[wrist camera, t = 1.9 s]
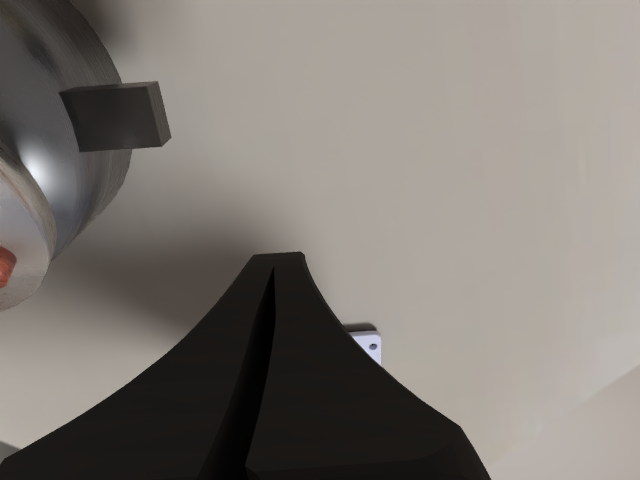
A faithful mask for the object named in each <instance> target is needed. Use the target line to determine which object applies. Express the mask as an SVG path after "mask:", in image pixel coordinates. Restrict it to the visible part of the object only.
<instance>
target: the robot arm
mask: <svg viewBox="0 0 640 480" xmlns="http://www.w3.org/2000/svg"><path fill="white" fill-rule="evenodd" d="M371 344H375V345H371ZM0 480H491V478H490V476H489V474H488V472H487V471H486V469H485V467H484V465H483V463H482V461H481V460H480V458H479V456H478V454H477V452H476V451H475V449H474V447H473V446H472V444H471V443H470V441H469V439H468V438H467V436H466V434H465V433H464V431H463V430H462V428H461V427H460V426H459V425H457V424H456V423H454V422H453V421H452V420H450V419H449V418H447V417H446V416H444V415H443V414H441V413H440V412H438V411H437V410H435V409H434V408H432V407H431V406H429V405H428V404H426V403H425V402H423V401H422V400H421V399H419V398H418V397H417V396H416V395H414V394H413V393H412V392H411V391H409V390H408V389H407V388H406V387H404V386H403V385H402V384H400V383H399V382H398V381H397V380H396V379H395V378H394V377H392V376H391V375H390V374H389V373H388V372H387V371H386V370H385V369H384V368H383V367H381V337H380V334H379V332H377V331H361V332H348V331H347V330H346V329H345V328H344V326H343V325H342V324H341V323H340V321H339V320H338V319H337V317H336V316H335V314H334V313H333V312H332V310H331V309H330V307H329V306H328V304H327V303H326V301H325V300H324V298H323V296H322V295H321V293H320V291H319V289H318V288H317V286H316V284H315V282H314V280H313V278H312V276H311V274H310V272H309V269H308V267H307V264H306V260H305V255H304V254H303V253H302V252H287V253H273V254H258V255H253V256H252V257H251V259H250V260H249V261H248V263H247V264H246V265H245V267H244V268H243V270H242V271H241V272H240V274H239V275H238V276H237V278H236V279H235V280H234V282H233V283H232V284H231V286H230V287H229V288H228V289H227V291H226V292H225V293H224V294H223V296H222V297H221V298H220V299H219V301H218V302H217V303H216V304H215V305H214V307H213V308H212V309H211V310H210V311H209V312H208V313H207V314H206V315H205V316H204V318H203V319H202V320H201V321H200V322H199V323H198V324H197V325H196V326H195V327H194V328H193V329H192V330H191V331H190V332H189V333H188V334H187V335H186V336H185V337H184V338H183V339H182V340H181V341H180V342H179V343H178V344H176V345H175V346H174V347H173V348H172V349H171V350H170V351H169V352H167V353H166V354H165V355H164V356H163V357H161V358H160V359H159V360H158V361H156V362H155V363H154V364H152V365H151V366H150V367H149V368H147V369H146V370H145V371H143V372H142V373H141V374H140V375H138V376H137V377H136V378H134V379H133V380H132V381H131V382H129V383H128V384H126V385H125V386H124V387H122V388H121V389H119V390H118V391H116V392H115V393H113V394H112V395H111V396H109V397H108V398H106V399H105V400H103V401H102V402H100V403H99V404H97V405H95V406H94V407H92V408H91V409H89V410H88V411H86V412H85V413H83V414H82V415H80V416H78V417H77V418H75V419H73V420H72V421H70V422H69V423H67V424H65V425H63V426H62V427H60V428H58V429H56V430H55V431H53V432H51V433H49V434H48V435H46V436H44V437H42V438H41V439H39V440H37V441H35V442H34V443H32V444H30V445H28V446H27V447H25V448H23V449H21V450H20V451H18V452H16V453H14V454H12V455H11V456H9V457H7V458H5V459H4V460H3V461H2V463H1V464H0Z"/></svg>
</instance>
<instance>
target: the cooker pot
mask: <svg viewBox="0 0 640 480" xmlns="http://www.w3.org/2000/svg"><path fill="white" fill-rule="evenodd" d="M170 138H171V134H170V130H169V125H168V121H167V117H166V113H165V109H164V104H163V100H162V96H161V92H160V88H159V84H158V81H153V82H139V83H125V84H122V82H121V79H120V76H119V74H118V72H117V70H116V68H115V66H114V64H113V61H112V59H111V57H110V55H109V54H108V52H107V50H106V49H105V47H104V46H103V44H102V42H101V41H100V39H99V37H98V36H97V34H96V33H95V32H94V30H93V29H92V28H91V26H90V25H89V24H88V22H87V21H86V20H85V19H84V17H83V16H82V15H81V14H80V13H79V11H78V10H77V9H76V8H75V7H74V6H73V5H72V4H71V3H70V2H69V1H68V0H0V139H1V140H2V141H3V142H4V143H5V144H6V145H7V146H8V147H9V148H10V149H11V150H12V151H13V152H14V153H15V154H16V156H17V157H18V158H19V159H20V160H21V161H22V163H23V164H24V165H25V167H26V168H27V169H28V171H29V172H30V173H31V175H32V176H33V177H34V179H35V180H36V181H37V183H38V184H39V186H40V188H41V190H42V192H43V193H44V195H45V197H46V199H47V200H48V202H49V205H50V207H51V210H52V213H53V216H54V219H55V223H56V233H57V240H56V246H55V251H54V254H53V256H52V259H51V261H52V260H53V259H54V258H55V257H56V256H57V255H58V254H59V253H60V252H61V251H62V250H63V249H64V248H65V247H66V246H67V245H68V244H69V243H70V242H71V241H72V240H73V239H74V238H75V237H76V236H77V235H78V234H79V233H80V232H81V231H82V230H83V229H84V228H85V227H86V226H87V225H88V224H89V223H90V222H91V221H92V220H93V219H94V218H95V217H96V216H97V215H98V214H99V213H100V212H101V211H102V210H103V209H105V208H106V206H107V205H108V204H109V203H110V202H111V200H112V199H113V198H114V197H115V196H116V194H117V192H118V190H119V189H120V187H121V185H122V184H123V181H124V179H125V176H126V173H127V171H128V168H129V163H130V158H131V153H132V149H135V148H149V147H162V146H163V145H164V144H165V143H166V142H167V141H168V140H169V139H170Z"/></svg>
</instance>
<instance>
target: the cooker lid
mask: <svg viewBox="0 0 640 480" xmlns="http://www.w3.org/2000/svg"><path fill="white" fill-rule="evenodd" d="M56 240H57V233H56V223H55V219H54V216H53V213H52V210H51V207H50V205H49V202H48V200H47V199H46V197H45V195H44V193H43V192H42V190H41V188H40V186H39V184H38V183H37V181H36V180H35V179H34V177H33V176H32V175H31V173H30V172H29V171H28V169H27V168H26V167H25V165H24V164H23V163H22V161H21V160H20V159H19V158H18V157H17V156H16V154H15V153H14V152H13V151H12V150H11V149H10V148H9V147H8V146H7V145H6V144H5V143H4V142H3V141H2V140H1V139H0V312H1V311H4V310H6V309H8V308H11V307H13V306H15V305H18V304H19V303H21V302H22V301H24V300H25V299H27V298H29V297H30V296H31V295H32V294H33V293H34V292H35V291H36V290H37V289H38V288H39V286H40V285H41V283H42V281H43V279H44V277H45V274H46V272H47V269H48V267H49V264H50V262H51V259H52V256H53V254H54V251H55V246H56Z"/></svg>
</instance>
